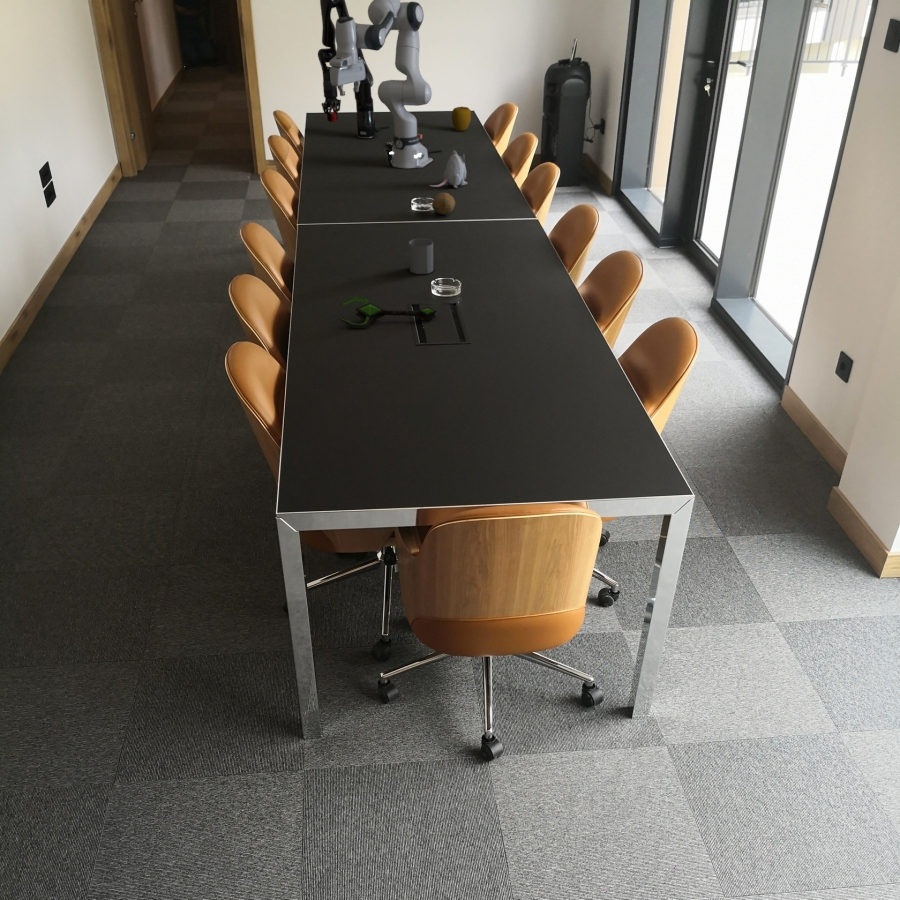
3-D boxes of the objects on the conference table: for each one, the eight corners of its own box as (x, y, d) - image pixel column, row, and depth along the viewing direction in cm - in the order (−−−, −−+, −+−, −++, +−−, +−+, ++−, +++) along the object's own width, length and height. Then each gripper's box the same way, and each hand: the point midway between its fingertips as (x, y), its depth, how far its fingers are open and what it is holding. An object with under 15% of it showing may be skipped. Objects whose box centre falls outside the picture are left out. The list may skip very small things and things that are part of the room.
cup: (409, 265, 311) (408, 238, 306) (432, 265, 312) (431, 238, 307) (410, 274, 304) (409, 246, 299) (433, 273, 305) (433, 246, 299)
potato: (453, 208, 369) (453, 189, 365) (456, 218, 357) (456, 199, 353) (431, 208, 368) (430, 189, 364) (432, 218, 356) (432, 199, 352)
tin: (329, 120, 488) (328, 112, 486) (336, 120, 488) (336, 111, 486) (328, 122, 485) (328, 113, 482) (336, 121, 485) (335, 113, 483)
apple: (471, 132, 486) (471, 108, 479) (451, 132, 486) (451, 108, 479) (470, 128, 495) (471, 104, 488) (452, 128, 495) (452, 104, 488)
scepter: (436, 292, 272) (340, 290, 270) (437, 322, 265) (338, 320, 263) (435, 305, 277) (341, 303, 275) (436, 335, 270) (339, 333, 268)
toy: (472, 184, 399) (472, 151, 391) (436, 195, 384) (436, 161, 376) (457, 180, 404) (458, 147, 396) (422, 191, 389) (421, 157, 381)
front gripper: (356, 55, 378) (358, 89, 386) (326, 62, 364) (329, 97, 371) (368, 56, 376) (369, 90, 383) (338, 63, 361) (340, 98, 368)
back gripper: (333, 85, 484) (336, 117, 493) (316, 89, 474) (319, 122, 483) (343, 86, 480) (346, 119, 489) (326, 90, 470) (329, 123, 480)
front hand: (349, 93), depth 377 cm, fingers open, 8 cm apart
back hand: (332, 120), depth 486 cm, fingers closed on tin, 4 cm apart
